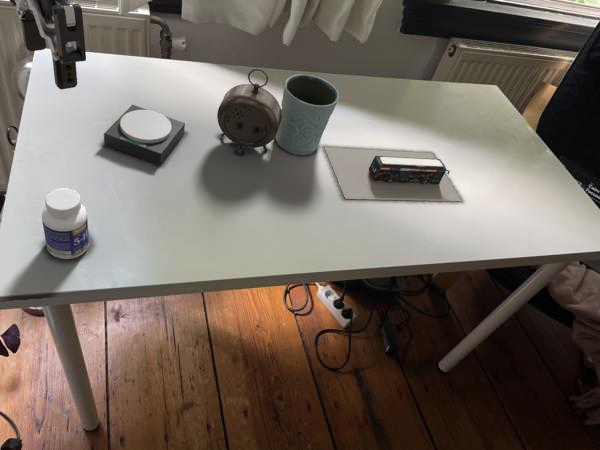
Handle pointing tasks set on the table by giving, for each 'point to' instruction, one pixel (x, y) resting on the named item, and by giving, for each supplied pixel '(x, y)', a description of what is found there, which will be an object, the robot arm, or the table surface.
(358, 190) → the grey flat tray
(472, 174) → the table surface
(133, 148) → the scale
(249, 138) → the alarm clock
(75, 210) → the pill bottle
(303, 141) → the teal ceramic cup
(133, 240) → the table surface
